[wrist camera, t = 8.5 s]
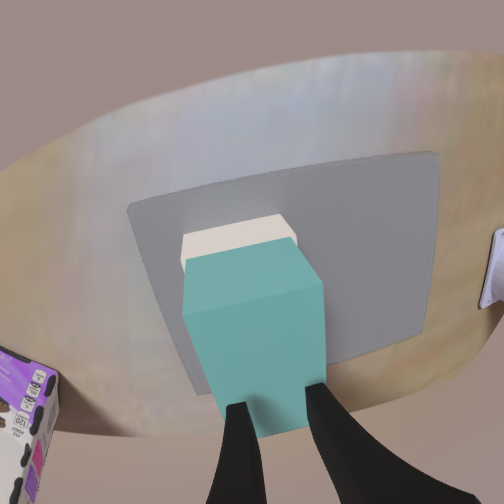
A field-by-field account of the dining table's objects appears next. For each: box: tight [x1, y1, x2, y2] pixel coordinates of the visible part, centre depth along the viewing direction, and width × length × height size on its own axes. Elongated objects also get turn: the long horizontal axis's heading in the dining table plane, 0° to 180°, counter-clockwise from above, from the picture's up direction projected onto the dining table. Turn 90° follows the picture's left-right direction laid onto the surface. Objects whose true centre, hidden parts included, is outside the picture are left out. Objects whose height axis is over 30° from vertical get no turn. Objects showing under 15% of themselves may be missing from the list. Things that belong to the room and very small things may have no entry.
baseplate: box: [127, 151, 439, 395], centre depth 17 cm, size 18×14×4 cm
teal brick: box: [182, 237, 326, 438], centre depth 13 cm, size 4×8×4 cm, turn 10°
